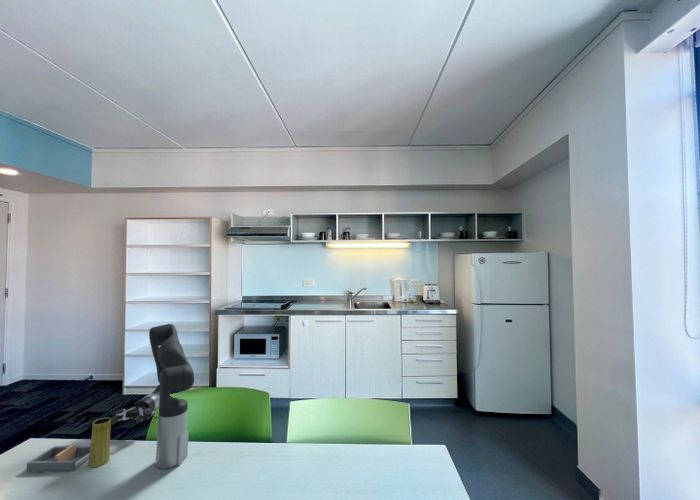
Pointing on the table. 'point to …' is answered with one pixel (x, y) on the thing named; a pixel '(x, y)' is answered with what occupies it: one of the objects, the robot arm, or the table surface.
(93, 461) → the vase
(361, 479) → the table surface
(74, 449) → the pusher
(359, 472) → the table surface
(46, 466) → the grey tray
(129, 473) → the table surface
